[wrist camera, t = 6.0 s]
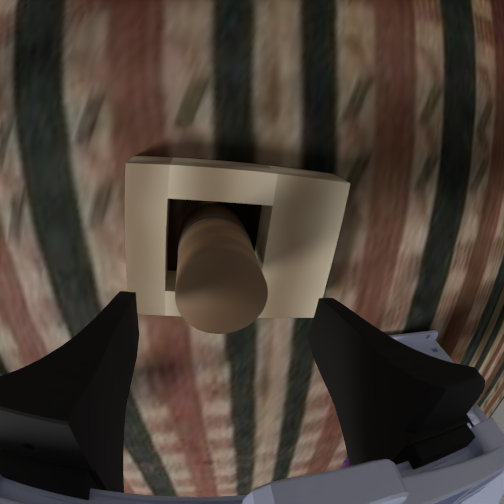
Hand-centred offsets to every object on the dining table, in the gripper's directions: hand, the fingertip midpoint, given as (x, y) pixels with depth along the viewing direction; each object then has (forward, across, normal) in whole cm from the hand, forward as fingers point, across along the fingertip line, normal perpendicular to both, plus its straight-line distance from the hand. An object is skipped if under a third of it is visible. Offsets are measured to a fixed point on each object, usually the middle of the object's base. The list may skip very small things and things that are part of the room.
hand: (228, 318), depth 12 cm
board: (+9, -1, 0) cm, 9 cm away
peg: (+9, 0, 0) cm, 9 cm away
